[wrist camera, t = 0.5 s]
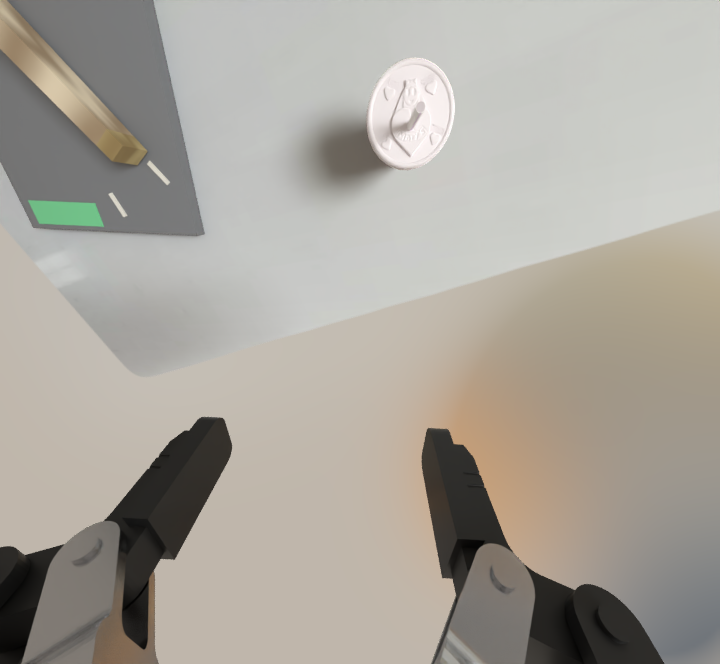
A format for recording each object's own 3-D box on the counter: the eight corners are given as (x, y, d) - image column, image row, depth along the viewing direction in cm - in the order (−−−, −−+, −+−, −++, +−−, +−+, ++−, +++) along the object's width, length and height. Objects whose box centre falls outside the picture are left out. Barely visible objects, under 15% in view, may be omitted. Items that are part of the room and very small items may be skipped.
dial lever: (-81, -49, 21) (-151, -88, 18) (-68, -94, 20) (-141, -143, 17) (134, 170, 28) (107, 167, 25) (152, 145, 27) (126, 138, 24)
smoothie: (370, 181, 29) (368, 166, 16) (365, 108, 26) (359, 22, 13) (428, 175, 28) (472, 155, 16) (429, 99, 25) (485, 3, 13)
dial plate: (-100, -83, 22) (-133, -103, 20) (136, -77, 21) (119, -97, 20) (47, 226, 32) (32, 227, 31) (204, 234, 32) (196, 235, 31)
